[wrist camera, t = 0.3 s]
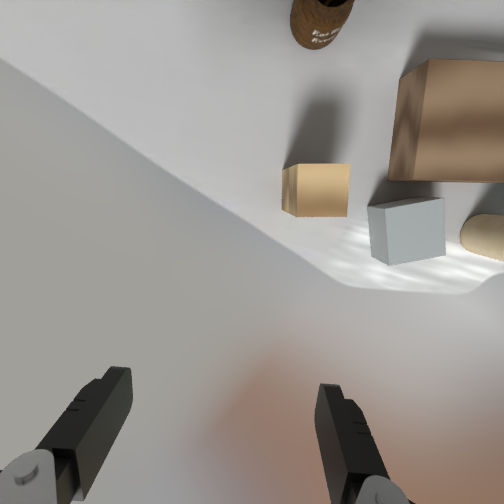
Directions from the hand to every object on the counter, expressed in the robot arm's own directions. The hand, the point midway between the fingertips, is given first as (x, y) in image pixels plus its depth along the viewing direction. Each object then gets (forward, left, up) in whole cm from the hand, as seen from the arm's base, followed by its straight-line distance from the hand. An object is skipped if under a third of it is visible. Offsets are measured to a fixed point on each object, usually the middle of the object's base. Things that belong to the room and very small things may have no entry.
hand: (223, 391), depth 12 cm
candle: (-2, +34, -27) cm, 44 cm away
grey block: (-3, +22, -27) cm, 35 cm away
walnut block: (-15, +27, -27) cm, 41 cm away
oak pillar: (-8, +9, -27) cm, 30 cm away
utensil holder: (-27, +10, -27) cm, 40 cm away
